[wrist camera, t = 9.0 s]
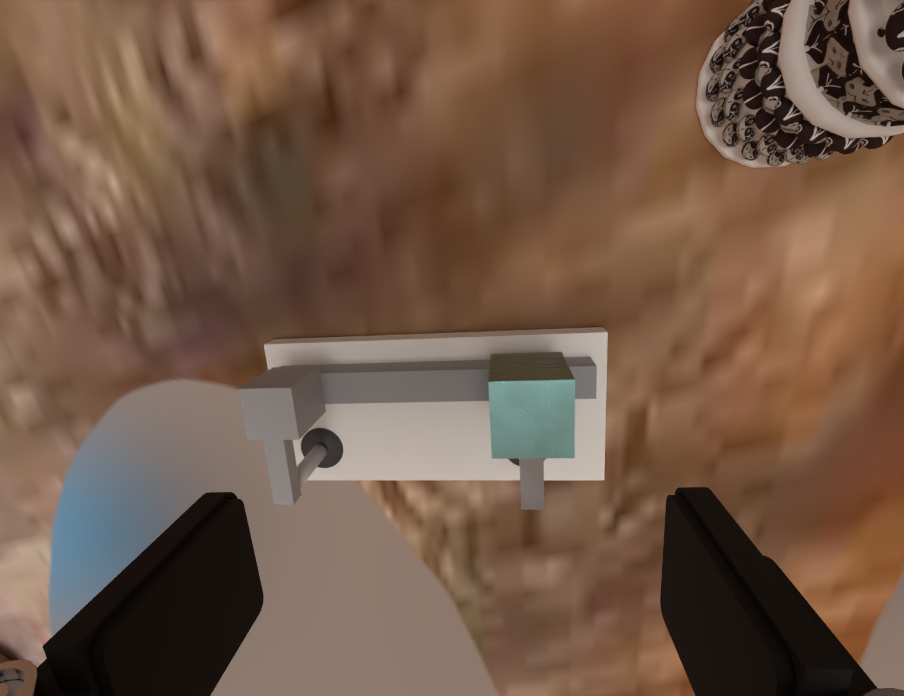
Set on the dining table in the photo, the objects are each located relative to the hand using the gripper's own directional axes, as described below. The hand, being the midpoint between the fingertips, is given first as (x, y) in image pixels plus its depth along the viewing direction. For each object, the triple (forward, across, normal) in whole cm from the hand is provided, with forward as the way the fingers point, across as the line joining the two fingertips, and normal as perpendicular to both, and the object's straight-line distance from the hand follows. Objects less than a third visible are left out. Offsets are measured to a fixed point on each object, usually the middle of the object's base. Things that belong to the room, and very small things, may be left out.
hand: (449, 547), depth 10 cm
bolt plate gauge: (+21, +3, +5) cm, 22 cm away
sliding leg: (+19, -3, +4) cm, 20 cm away
